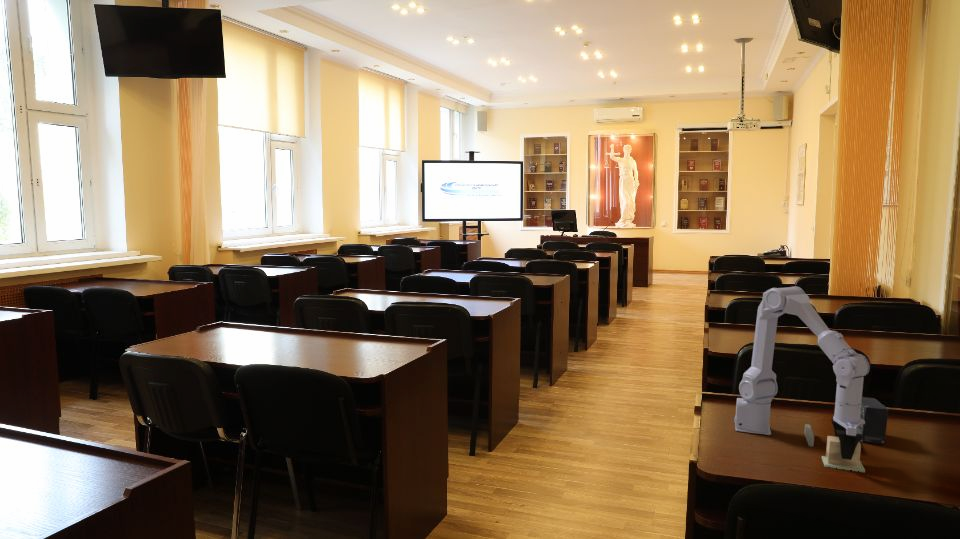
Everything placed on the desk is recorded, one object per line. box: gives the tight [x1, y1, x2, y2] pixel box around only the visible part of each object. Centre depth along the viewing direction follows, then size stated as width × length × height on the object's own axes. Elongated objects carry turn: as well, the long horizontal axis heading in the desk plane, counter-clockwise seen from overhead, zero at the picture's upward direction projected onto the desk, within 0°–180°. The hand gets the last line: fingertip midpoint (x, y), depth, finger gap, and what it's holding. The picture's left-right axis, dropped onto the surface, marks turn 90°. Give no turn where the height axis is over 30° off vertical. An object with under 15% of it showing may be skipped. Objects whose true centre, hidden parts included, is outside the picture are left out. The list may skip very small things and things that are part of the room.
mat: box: [821, 455, 866, 473], centre depth 170 cm, size 9×6×1 cm, turn 70°
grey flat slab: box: [804, 424, 815, 447], centre depth 185 cm, size 11×10×3 cm
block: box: [825, 435, 862, 468], centre depth 170 cm, size 7×4×6 cm, turn 70°
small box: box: [856, 396, 889, 445], centre depth 189 cm, size 11×6×10 cm, turn 168°
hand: (843, 453), depth 170 cm, fingers open, 7 cm apart
